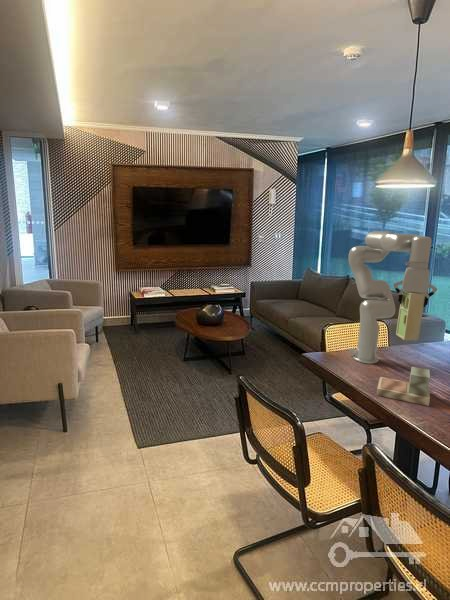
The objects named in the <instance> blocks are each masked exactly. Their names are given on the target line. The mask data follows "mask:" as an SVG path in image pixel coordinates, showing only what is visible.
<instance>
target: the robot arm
mask: <svg viewBox="0 0 450 600" xmlns="http://www.w3.org/2000/svg"><path fill="white" fill-rule="evenodd" d="M432 241H433V240H432V237H430V236H424V235H419V234H415V233H414V234H411V233H394V232H391V231H387V230H385V231H383V230H382V231H381V230H373V231H371V232H368V233H367V234H366V235H365V238H364V242H365V244H366V245H356V246H354V247H352V248H351V249H350V250H349V251H348V252H349V253H348V264H349V267H350V269H351V272H352V274H353V277H354V281H355V284H356V289H357V291H358V295H359V297H360V298H361V299H364V300H363V301H361V303H360V305H359V316H360V317H359V330H358V337H357V338H358V339H357V348H354V349H352V348H348V349H347V353H349V354H351V355H352V359H353V360H355V362H356V361H357V362H358V363H363V364H370V365H372V364H373V365H374V364H377V363H378V362H379V358H378V357H377V349H378V341H379V334H380V324H379V323H378V321H377V319H389V318H392V317H394V315H395V314H396V304H395V301H394V297H393V292H392V290H391V286H390V285H389V283H388V282H387V281H386V280H384V279H374V277H373V275H372V272H371V269H370V268H369V266H367V265H366V264H365V263H379V262H382V261H383V260H384V259H385V258H386V256H388V255H389V253H390V252H404V253H405V252H408V253H409V259H408V261H405V262H404V265H405V266H407V267H406V269H405V270H404V275H403V277H402V278H403V279H402V280H400V281H398V282H393V287H394V290H395V292H396V293H397V294H398V298H397V299H398V301H397V302H399V305H400V304H401V303H402V296H403V294H402V293H403V292H405V291H406V292H414V293H424V294H425V300H424V307H423V308H426V306H428V304H429V298H430V297H433V295H434V294H435V293H436V292H437V291H438V288H437V286H434V285H433V284H432V283H430V270H429V269H428V267H429V262H430V261H429V260H430V255H431V247H432V243H433V242H432ZM400 285H402V286H401V289H400V288H399V287H398V286H400ZM429 288H430V289H431V291H430V292H429V293H428V290H429Z"/></svg>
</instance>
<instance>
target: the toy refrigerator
mask: <svg viewBox="0 0 450 600" xmlns="http://www.w3.org/2000/svg"><path fill="white" fill-rule="evenodd" d="M402 294H403V296H402V303H401V304H400V303H399V309H398V317H397V324H396V331H395V335H396V336H397V337H399V338H401V339H402V340H403V341H419V339H420V338H419V337H420V332H421V326H422V319H423V312H424V308H425V307H424V300H425V294H424V293H414V292H406V291H405V292H403V293H402Z"/></svg>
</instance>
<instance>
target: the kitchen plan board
mask: <svg viewBox="0 0 450 600" xmlns="http://www.w3.org/2000/svg"><path fill="white" fill-rule="evenodd" d="M430 372H431V369H428V368H423V367H418V366H417V367H415V366H411V369H410V375H409V381H405V380H399V379H394V378H390V377H384V376H379V379H378V384H377V388H376V396H379V397H384V398H388V399H394V400H397V401H403V402H407V403H408V402H409V403H412V404H418V405H422V406H427V407H429V406H430V402H431V401H430V399H431V393H430V391H431V390H430V381H431V373H430Z"/></svg>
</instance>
